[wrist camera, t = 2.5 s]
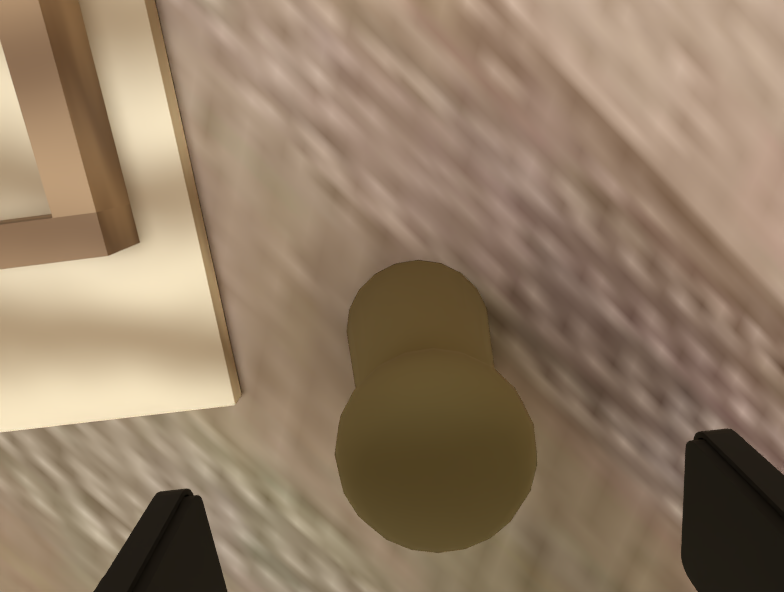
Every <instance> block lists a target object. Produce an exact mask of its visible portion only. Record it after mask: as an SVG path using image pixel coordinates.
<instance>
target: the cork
mask: <svg viewBox="0 0 784 592" xmlns="http://www.w3.org/2000/svg"><path fill="white" fill-rule="evenodd" d="M347 336H348V343H349V349H350V355H351V362H352V368H353V375H354V381H355V387H356V389H355V390H354V391H353V393H352V395H351V397H350V399H349V401H348V403H347V405H346V407H345V409H344V410H343V412H342V414H341V417H340V422H339V427H338V434H337V442H336V449H335V458H336V462H337V467H338V471H339V476H340V480H341V484H342V488H343V492H344V494H345V496H346V497H347V499H348V501H349V502H350V504H351V505H352V507H353V508H354V510H355V512H356V513H357V515H358V516H359V517H360V518H361V519H362V520H363V521H365V522H366V523H367V524H368V525H369V526H371V527H372V528H373V529H374V530H375V531H377V532H378V533H379V534H380V535H382V536H383V537H384V538H385V539H386V540H389V541H391V542H394V543H396V544H399V545H401V546H403V547H406V548H408V549H411V550H418V551H427V552H435V553H441V552H448V551H455V550H461V549H466V548H469V547H471V546H473V545H476V544H478V543H480V542H482V541H485V540H487V539H489V538H491V537H492V536H493V535H495V534H496V533H497V532H498V531H499V530H501V529H502V528H503V527H504V526H506V525H507V524H508V523H509V522H510V521H511V520H512V518H513V517H514V515H515V514H516V512H517V511H518V509H519V508H520V506H521V505H522V503H523V502H524V500H525V498H526V497H527V495H528V494H529V492H530V490H531V486H532V482H533V478H534V474H535V470H536V466H537V451H536V442H535V433H534V424H533V422H532V420H531V418H530V416H529V414H528V412H527V410H526V408H525V406H524V404H523V402H522V400H521V398H520V397H519V395H518V393H517V391H516V389H515V388H514V387H513V386H512V385H511V384H510V383H509V382H508V381H507V380H506V379H505V378H504V377H503V376H501V375H500V374H499V373H498V372H497V371H496V370H495V369H494V362H493V354H492V346H491V339H490V331H489V323H488V316H487V308H486V306H485V304H484V302H483V300H482V298H481V296H480V294H479V292H478V290H477V288H476V287H475V286H474V285H473V284H472V283H471V282H469V281H468V280H467V279H466V278H465V277H464V276H463V275H462V274H461V273H460V272H457V271H455V270H453V269H451V268H449V267H447V266H445V265H443V264H441V263H435V262H428V261H421V260H415V261H409V262H404V263H398V264H394V265H392V266H390V267H388V268H386V269H384V270H382V271H380V272H378V273H376V274H375V275H374V276H373V277H372V278H371V279H370V280H369V281H368V282H367V283H366V284H365V285H364V286H363V287H362V288H361V289H360V290H359V291H358V293H357V295H356V297H355V299H354V301H353V303H352V305H351V307H350V309H349V316H348V324H347Z"/></svg>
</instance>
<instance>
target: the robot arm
mask: <svg viewBox="0 0 784 592" xmlns="http://www.w3.org/2000/svg"><path fill="white" fill-rule="evenodd" d="M681 558H682V563H683V567H684V569H685V572H686V574H687V576H688V577H689V579H690V581H691V582H692V584H693V585H694V587H695V588H696V590H697V591H698V592H784V475H783V474H782V473H781V472H780V471H778V470H777V469H776V468H775V467H774V466H773V465H772V464H771V463H770V462H768V461H767V460H766V459H765V458H764V457H763V456H762V455H761V454H759V453H758V452H757V451H756V450H755V449H754V448H753V447H752V446H751V445H749V444H748V443H747V442H746V441H745V440H744V439H743V438H742V437H741V436H739V435H738V434H737V433H736V432H735V431H733V430H732V429H719V430H710V431H701V432H698V433H696V434H695V436H694V440H692V441H688V442H687V444H686V452H685V475H684V499H683V522H682V545H681ZM94 592H227V588H226V585H225V581H224V577H223V574H222V570H221V566H220V563H219V559H218V555H217V552H216V548H215V544H214V541H213V537H212V533H211V530H210V526H209V522H208V519H207V515H206V512H205V508H204V504H203V501H202V498H201V497H200V496H199V495H195V496H193V493H192V492H191V490H190V489H179V490H170V491H161V492H158V493H157V494H156V495H155V496H154V497H153V499H152V501H151V502H150V504H149V505H148V507H147V509H146V510H145V512H144V513H143V515H142V517H141V518H140V520H139V522H138V523H137V525H136V526H135V528H134V530H133V531H132V533H131V534H130V536H129V538H128V539H127V541H126V542H125V544H124V546H123V547H122V549H121V550H120V552H119V554H118V555H117V557H116V558H115V560H114V562H113V563H112V565H111V566H110V568H109V570H108V571H107V573H106V574H105V576H104V577H103V578H102V579H101V581H100V582H99V584H98V586H97V587H96V589H95V590H94Z"/></svg>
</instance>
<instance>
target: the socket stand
mask: <svg viewBox="0 0 784 592" xmlns="http://www.w3.org/2000/svg"><path fill="white" fill-rule="evenodd" d="M240 396H241V390H240V385H239V381H238V376H237V371H236V367H235V362H234V358H233V353H232V349H231V344H230V340H229V335H228V331H227V326H226V321H225V317H224V312H223V308H222V303H221V299H220V294H219V290H218V285H217V281H216V276H215V271H214V267H213V262H212V258H211V253H210V249H209V244H208V240H207V235H206V231H205V226H204V221H203V217H202V212H201V208H200V203H199V199H198V194H197V190H196V185H195V181H194V176H193V171H192V167H191V162H190V158H189V153H188V149H187V144H186V140H185V135H184V131H183V126H182V121H181V117H180V112H179V108H178V103H177V99H176V94H175V90H174V85H173V81H172V76H171V71H170V67H169V62H168V58H167V53H166V49H165V44H164V40H163V35H162V31H161V26H160V21H159V17H158V12H157V8H156V3H155V0H0V432H7V431H15V430H24V429H33V428H41V427H50V426H58V425H67V424H76V423H84V422H93V421H102V420H110V419H119V418H128V417H136V416H145V415H154V414H162V413H171V412H180V411H188V410H197V409H205V408H214V407H223V406H231V405H236V403H237V401H238V400H239V398H240Z"/></svg>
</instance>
